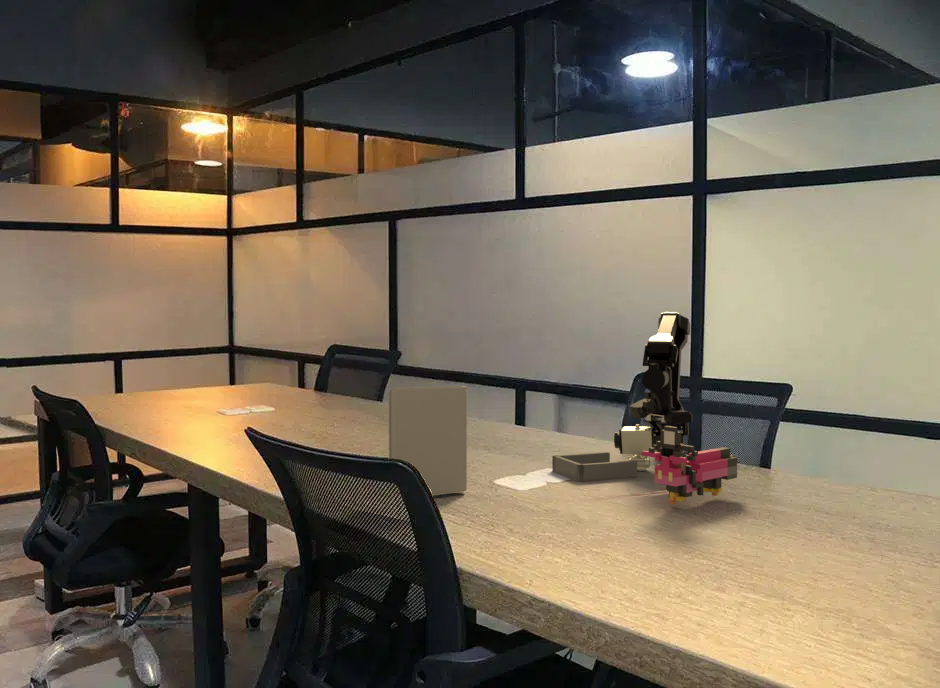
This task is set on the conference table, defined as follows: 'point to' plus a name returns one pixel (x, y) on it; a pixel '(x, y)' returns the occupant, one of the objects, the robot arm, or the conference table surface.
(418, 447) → the book
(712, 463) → the figurine
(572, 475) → the housing bay
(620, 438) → the pneumatic valve
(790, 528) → the conference table surface
